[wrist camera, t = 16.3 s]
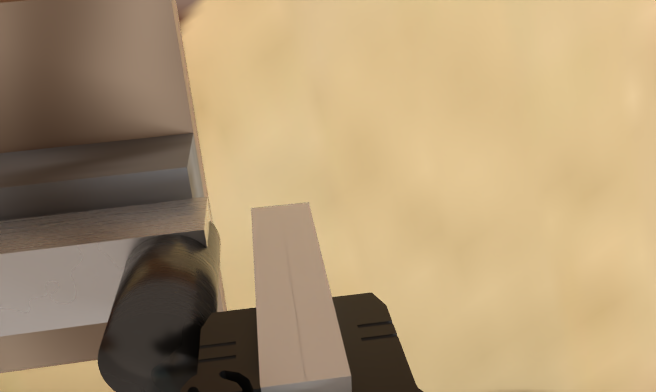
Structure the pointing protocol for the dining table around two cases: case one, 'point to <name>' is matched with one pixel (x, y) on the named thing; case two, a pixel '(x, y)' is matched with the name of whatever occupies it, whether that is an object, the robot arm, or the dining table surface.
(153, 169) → the dock socket
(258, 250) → the robot arm
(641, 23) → the dining table surface
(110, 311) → the lock bolt
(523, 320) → the dining table surface
